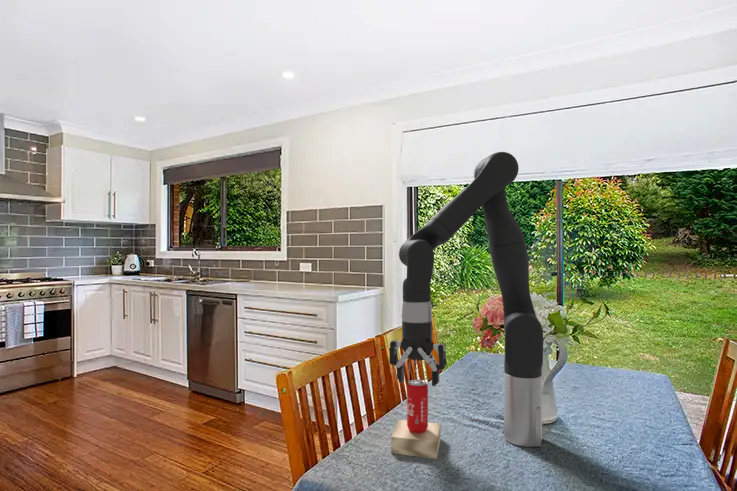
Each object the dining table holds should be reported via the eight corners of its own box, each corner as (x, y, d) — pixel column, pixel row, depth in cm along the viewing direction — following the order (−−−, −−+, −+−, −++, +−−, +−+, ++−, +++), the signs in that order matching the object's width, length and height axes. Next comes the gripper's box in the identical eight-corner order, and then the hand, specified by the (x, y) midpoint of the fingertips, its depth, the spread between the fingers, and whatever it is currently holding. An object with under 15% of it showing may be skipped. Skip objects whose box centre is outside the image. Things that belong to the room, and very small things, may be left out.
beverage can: (427, 435, 108) (427, 386, 108) (406, 433, 109) (406, 384, 109) (428, 426, 113) (428, 379, 113) (408, 425, 114) (408, 378, 114)
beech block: (440, 439, 115) (440, 423, 115) (436, 458, 104) (436, 441, 104) (399, 434, 117) (399, 419, 117) (391, 453, 107) (391, 436, 107)
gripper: (448, 318, 111) (449, 382, 111) (395, 315, 117) (396, 376, 117) (441, 322, 104) (442, 391, 104) (385, 319, 110) (385, 384, 110)
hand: (417, 383), depth 110 cm, fingers open, 8 cm apart
